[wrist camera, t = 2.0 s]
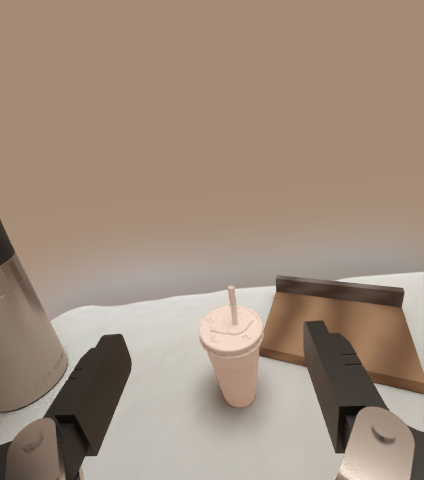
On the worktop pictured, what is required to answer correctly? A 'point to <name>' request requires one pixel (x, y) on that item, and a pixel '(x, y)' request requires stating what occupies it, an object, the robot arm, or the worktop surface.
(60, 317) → the worktop surface
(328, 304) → the shelf board
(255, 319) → the smoothie
